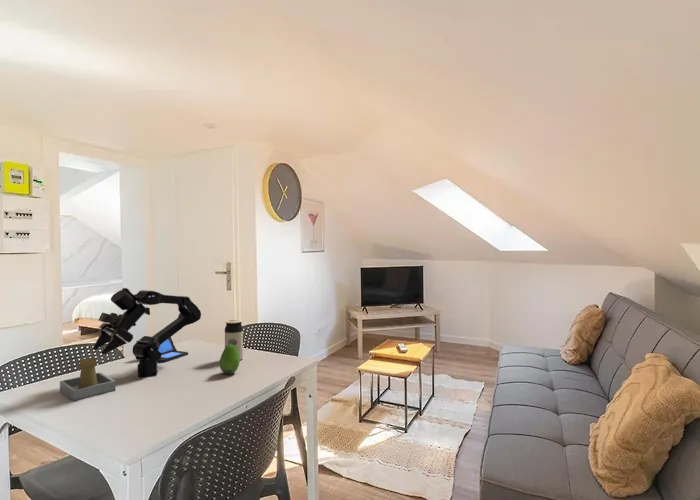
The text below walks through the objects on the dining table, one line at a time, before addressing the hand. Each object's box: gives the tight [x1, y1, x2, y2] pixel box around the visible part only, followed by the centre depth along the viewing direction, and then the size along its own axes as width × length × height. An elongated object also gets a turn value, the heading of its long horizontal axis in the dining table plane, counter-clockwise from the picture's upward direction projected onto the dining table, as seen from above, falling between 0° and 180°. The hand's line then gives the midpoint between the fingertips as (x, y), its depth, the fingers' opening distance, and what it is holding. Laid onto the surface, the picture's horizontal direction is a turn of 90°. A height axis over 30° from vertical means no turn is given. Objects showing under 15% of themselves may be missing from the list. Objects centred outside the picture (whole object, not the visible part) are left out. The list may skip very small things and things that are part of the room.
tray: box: [59, 371, 116, 402], centre depth 136 cm, size 16×13×4 cm
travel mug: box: [224, 318, 244, 361], centre depth 174 cm, size 8×8×18 cm
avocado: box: [219, 344, 241, 375], centre depth 154 cm, size 8×8×12 cm
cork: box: [78, 357, 98, 389], centre depth 136 cm, size 6×6×11 cm
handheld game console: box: [157, 336, 189, 364], centre depth 179 cm, size 16×13×9 cm
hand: (97, 351), depth 138 cm, fingers open, 9 cm apart
